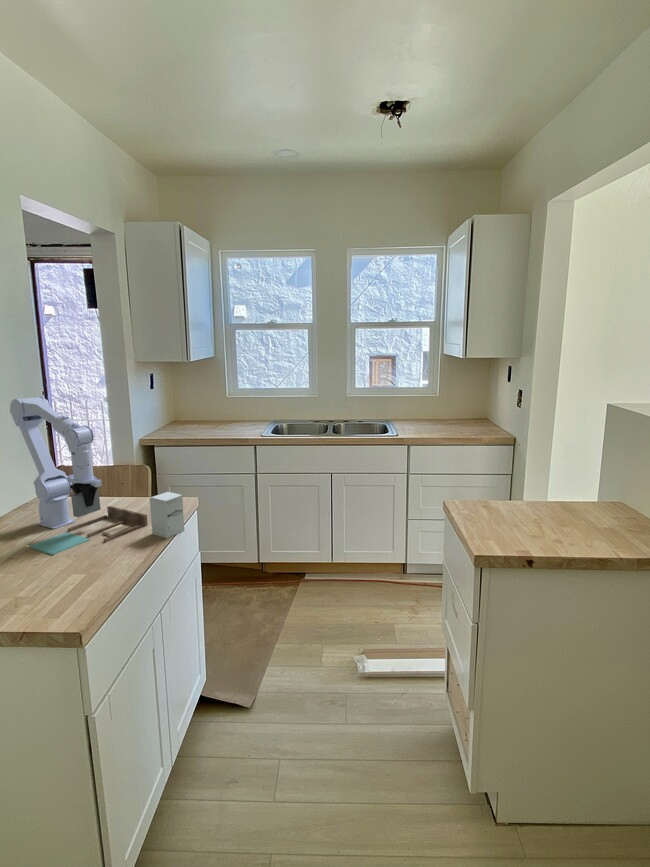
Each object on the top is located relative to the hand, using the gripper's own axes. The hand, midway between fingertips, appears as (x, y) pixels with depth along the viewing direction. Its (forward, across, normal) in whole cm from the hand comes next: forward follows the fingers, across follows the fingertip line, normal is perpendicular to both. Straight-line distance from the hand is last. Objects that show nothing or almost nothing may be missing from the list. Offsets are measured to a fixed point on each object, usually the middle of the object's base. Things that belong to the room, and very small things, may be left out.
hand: (86, 505), depth 156 cm
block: (+2, 0, 0) cm, 3 cm away
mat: (+9, +1, -11) cm, 14 cm away
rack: (+9, +4, +3) cm, 10 cm away
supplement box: (+9, +24, +11) cm, 28 cm away
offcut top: (+9, +9, +4) cm, 13 cm away
